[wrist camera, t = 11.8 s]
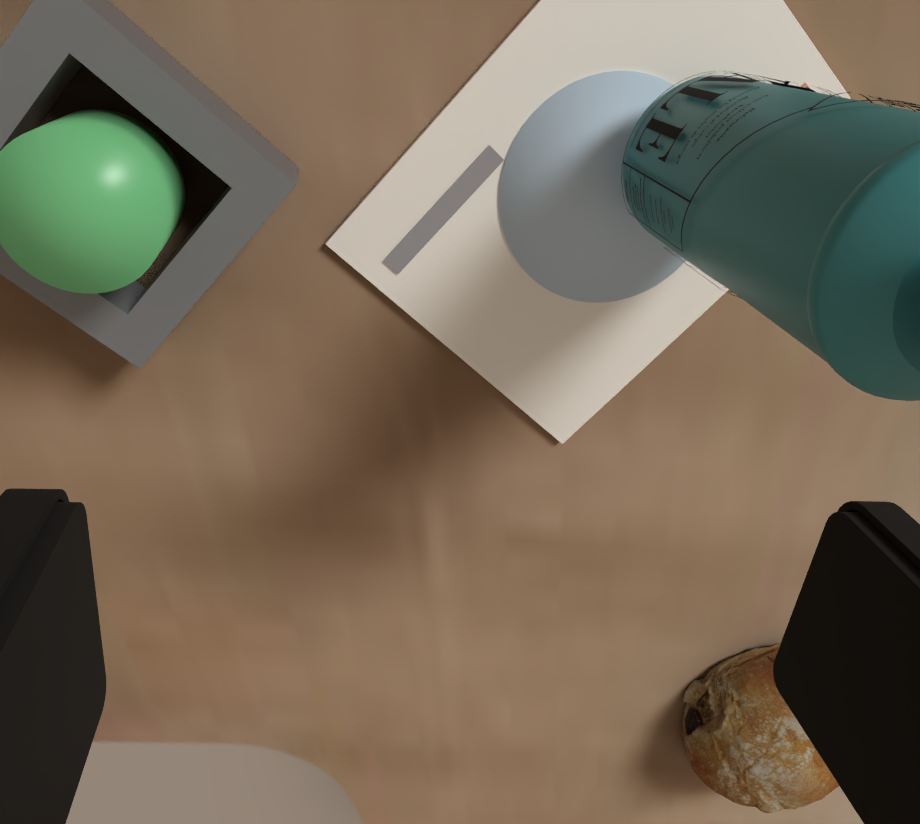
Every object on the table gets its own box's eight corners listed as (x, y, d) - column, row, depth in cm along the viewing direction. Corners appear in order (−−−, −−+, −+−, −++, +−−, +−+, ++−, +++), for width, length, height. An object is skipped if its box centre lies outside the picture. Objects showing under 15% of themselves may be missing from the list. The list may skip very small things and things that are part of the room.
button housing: (-66, 183, 28) (-107, 202, 25) (80, -24, 26) (51, -27, 23) (155, 338, 32) (139, 368, 29) (299, 168, 30) (295, 185, 27)
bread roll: (701, 595, 48) (696, 690, 41) (885, 639, 45) (912, 749, 38) (669, 713, 52) (659, 816, 45) (834, 759, 50) (851, 876, 43)
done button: (0, 190, 27) (-49, 220, 23) (85, 74, 26) (46, 87, 22) (131, 284, 29) (103, 324, 25) (214, 181, 28) (197, 208, 24)
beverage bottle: (704, 261, 33) (1120, 558, 16) (570, 196, 31) (876, 454, 14) (795, 111, 31) (1406, 262, 13) (656, 29, 29) (1164, 80, 11)
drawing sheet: (325, 241, 31) (325, 244, 31) (673, -152, 27) (678, -155, 26) (560, 440, 37) (562, 445, 36) (878, 144, 32) (884, 146, 32)
